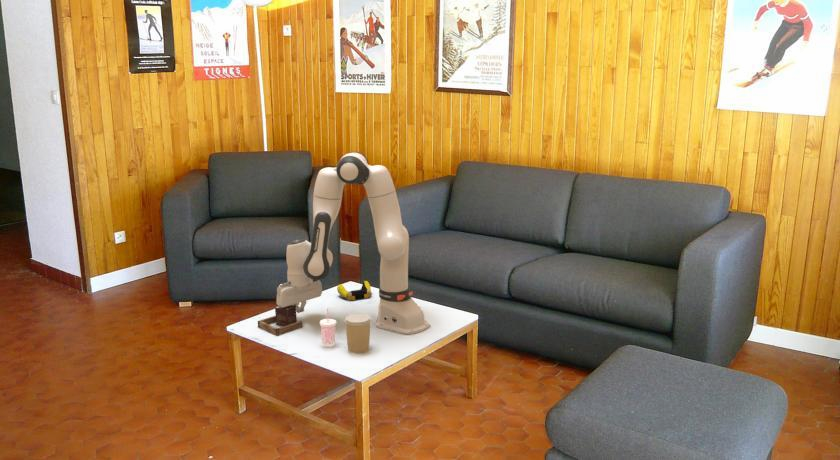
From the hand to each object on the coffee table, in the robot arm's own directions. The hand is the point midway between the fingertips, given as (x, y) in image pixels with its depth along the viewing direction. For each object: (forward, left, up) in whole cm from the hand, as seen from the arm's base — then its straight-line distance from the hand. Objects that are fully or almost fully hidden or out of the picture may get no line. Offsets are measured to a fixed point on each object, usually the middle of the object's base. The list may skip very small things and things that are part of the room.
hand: (300, 311), depth 295 cm
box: (+1, +6, -4) cm, 7 cm away
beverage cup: (-27, +8, -4) cm, 28 cm away
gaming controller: (+6, -34, -4) cm, 35 cm away
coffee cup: (-38, +3, -4) cm, 38 cm away
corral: (0, +10, -4) cm, 10 cm away
